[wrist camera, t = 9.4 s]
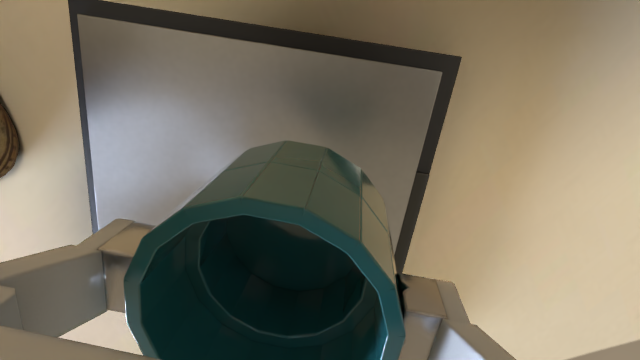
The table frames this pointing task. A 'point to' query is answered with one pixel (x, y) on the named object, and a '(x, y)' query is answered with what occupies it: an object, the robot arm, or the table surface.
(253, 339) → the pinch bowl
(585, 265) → the table surface
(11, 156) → the ceramic vessel
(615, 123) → the table surface
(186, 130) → the scale
